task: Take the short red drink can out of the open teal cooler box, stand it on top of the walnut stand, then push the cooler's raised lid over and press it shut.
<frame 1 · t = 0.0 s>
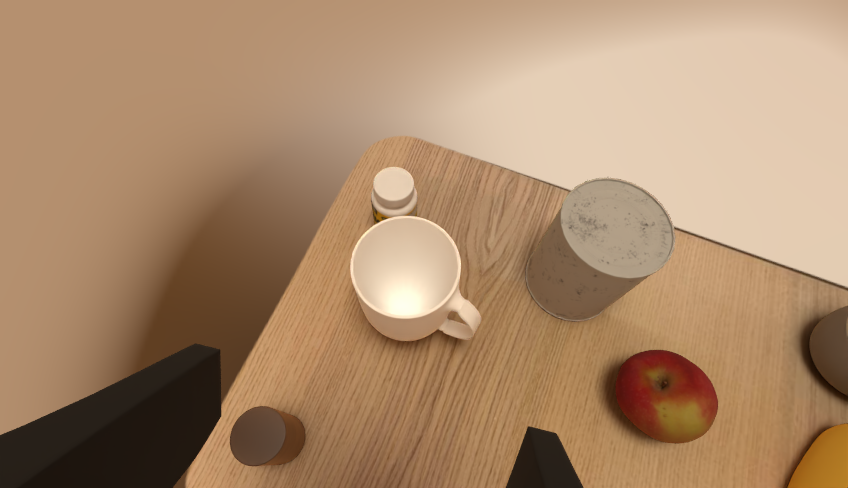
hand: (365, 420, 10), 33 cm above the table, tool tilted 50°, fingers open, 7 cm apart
stand: (281, 438, 39), on the table
speckled concrete cylinder: (568, 279, 47), on the table
smart speaker: (843, 361, 44), on the table
apple: (641, 400, 42), on the table
mug: (417, 317, 45), on the table
supplement bottle: (395, 225, 50), on the table
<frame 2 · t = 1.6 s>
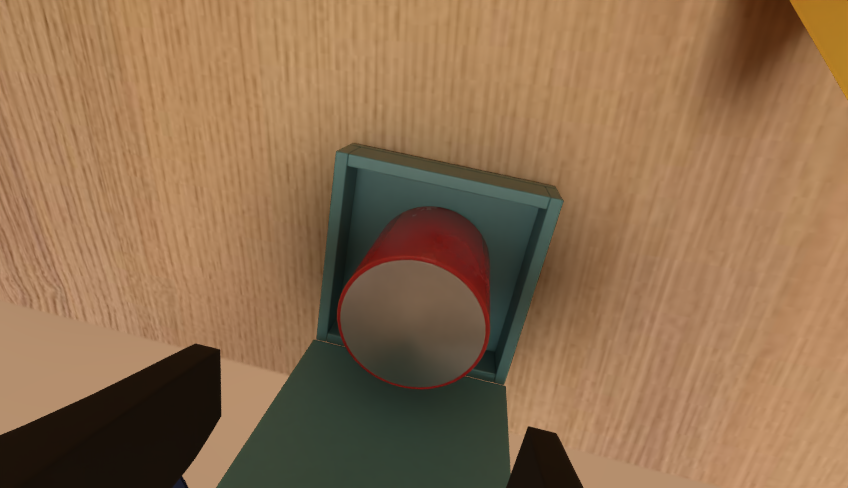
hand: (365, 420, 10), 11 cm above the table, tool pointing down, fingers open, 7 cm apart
cooler: (432, 257, 20), on the table
cooler lid: (383, 452, 15), point 7 cm above the table, hinge at 90.0°
can: (431, 261, 20), resting on cooler
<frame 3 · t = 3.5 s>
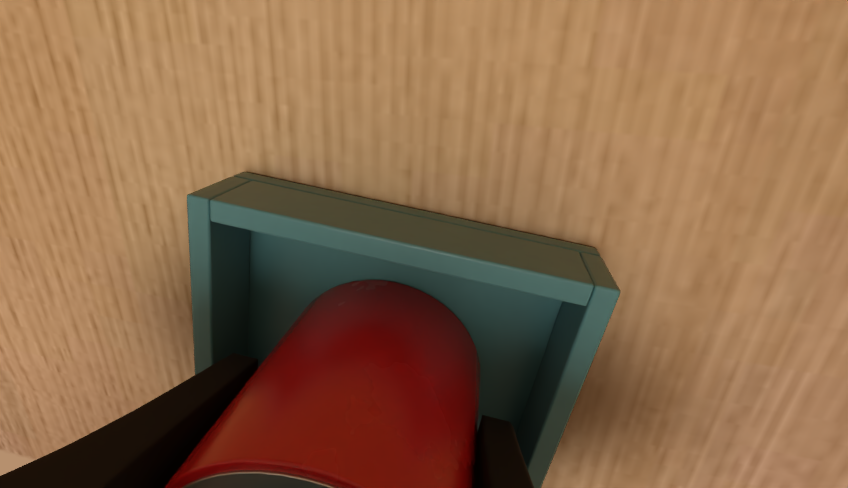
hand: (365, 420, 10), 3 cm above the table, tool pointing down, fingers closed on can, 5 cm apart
cooler: (389, 353, 12), on the table
can: (383, 364, 12), point 1 cm above the table, touching cooler, gripper
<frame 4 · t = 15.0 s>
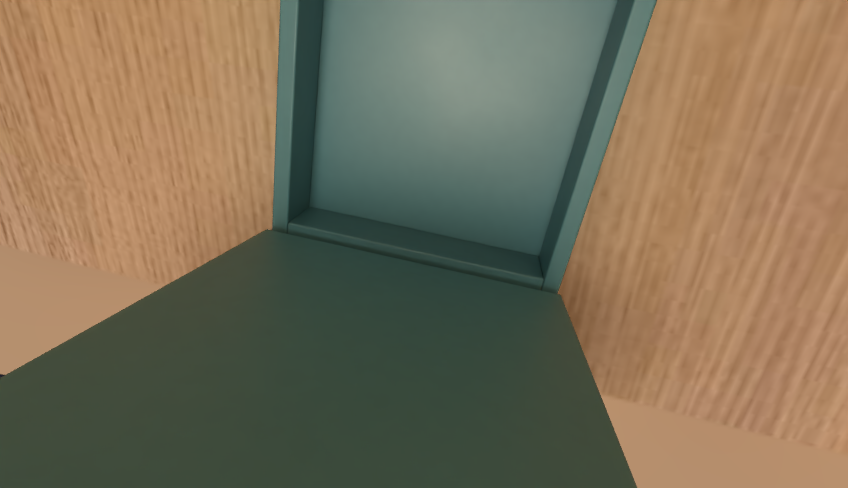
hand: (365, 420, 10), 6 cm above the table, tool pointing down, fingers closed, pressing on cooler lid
cooler: (445, 108, 13), on the table
cooler lid: (366, 357, 8), point 7 cm above the table, hinge at 85.4°, touching gripper
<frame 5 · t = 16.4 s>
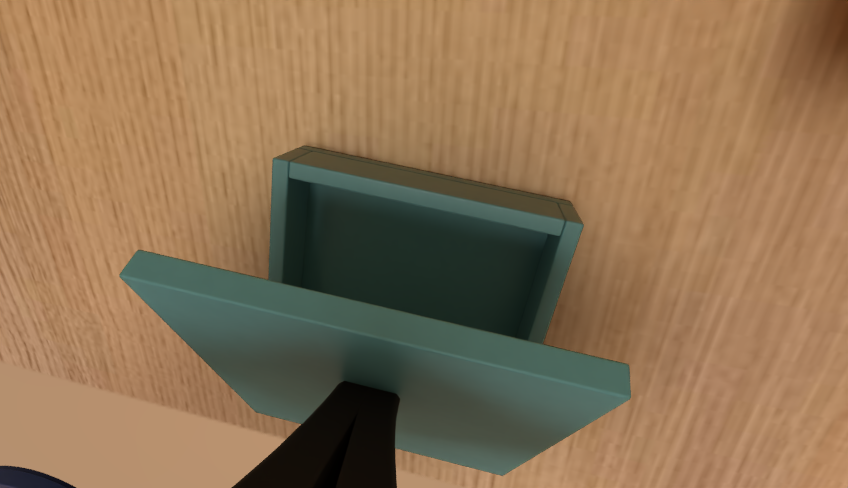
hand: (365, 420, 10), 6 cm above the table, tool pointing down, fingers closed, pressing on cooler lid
cooler: (412, 290, 16), on the table
cooler lid: (375, 396, 11), point 5 cm above the table, hinge at 32.0°, touching gripper
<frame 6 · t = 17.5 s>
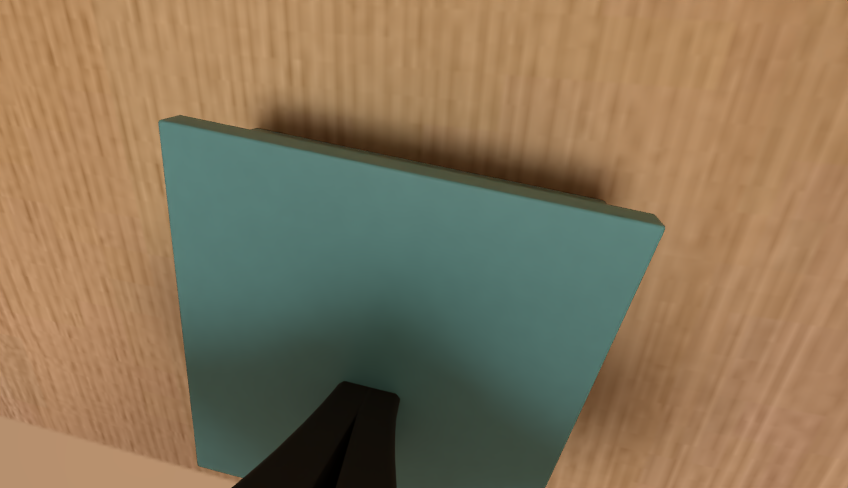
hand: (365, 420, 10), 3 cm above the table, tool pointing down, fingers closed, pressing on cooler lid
cooler: (398, 313, 12), on the table
cooler lid: (374, 368, 10), point 3 cm above the table, hinge at 3.7°, touching gripper
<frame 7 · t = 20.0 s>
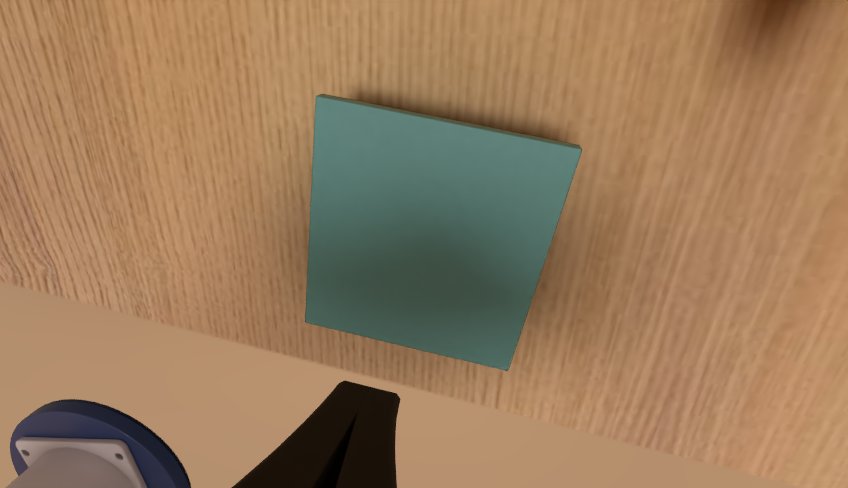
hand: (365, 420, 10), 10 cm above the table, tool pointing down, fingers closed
cooler lid: (423, 245, 16), point 3 cm above the table, hinge at 3.7°
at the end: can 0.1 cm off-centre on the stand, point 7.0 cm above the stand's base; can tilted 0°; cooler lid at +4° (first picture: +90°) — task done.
